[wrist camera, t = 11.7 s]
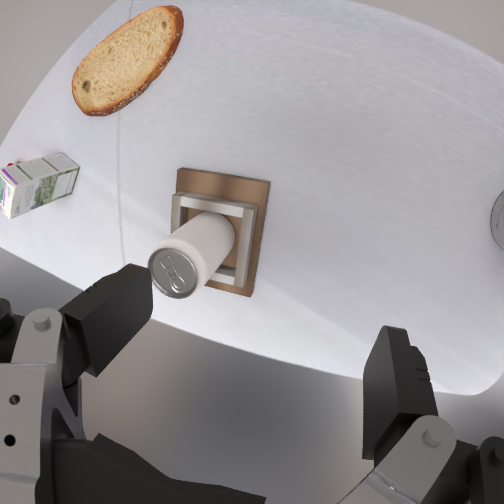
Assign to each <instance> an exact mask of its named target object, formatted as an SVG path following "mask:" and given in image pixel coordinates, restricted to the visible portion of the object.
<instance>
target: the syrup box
mask: <svg viewBox="0 0 504 504" xmlns="http://www.w3.org/2000/svg"><path fill="white" fill-rule="evenodd" d="M78 171H79V166H78V165H77V164H76V163H74V162H73V161H72V160H71V159H69V158H68V157H67V156H65V155H64V154H63V153H57V154H53V155H50V156H46V157H42V158H38V159H34V160H30V161H26V162H22V163H18V164H14V165H11V166H7V167H4V168H1V169H0V210H1V212H2V213H3V214H4V215H5V216H7V217H8V218H9V220H10V219H13V218H15V217H17V216H19V215H21V214H24V213H26V212H28V211H30V210H33V209H35V208H37V207H40V206H42V205H45V204H47V203H49V202H52V201H54V200H57V199H59V198H62V197H64V196H67V195H70V194H71V193H72V190H73V187H74V183H75V180H76V177H77V174H78Z"/></svg>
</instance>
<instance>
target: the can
mask: <svg viewBox="0 0 504 504" xmlns="http://www.w3.org/2000/svg"><path fill="white" fill-rule="evenodd" d="M234 243H235V232H234V229H233V226H232V224H231V223H230V222H229V220H228V219H227V218H225V217H224V216H223V215H221V214H219V213H216V212H203V213H201V214H199V215H197V216H195V217H194V218H193V219H191V220H190V221H188V222H187V223H185V224H184V225H183V226H181V227H180V228H178V229H177V230H176V231H174V232H173V233H172V234H170V235H169V236H168V237H166V238H165V239H164V240H162V241H161V242H160V243H159V244H158V245H157V246H156V247H155V249H154V251H153V253H152V255H151V256H150V258H149V261H148V268H149V269H150V271H151V275H152V283H153V284H154V286H155V287H156V288H157V289H158V290H159V291H160V292H161V293H163V294H164V295H166V296H168V297H171V298H175V299H182V298H186V297H188V296H190V295H191V294H193V293H196V292H197V291H199V290H200V289H201V288H202V287H203V286H204V285H205V284H206V282H207V281H208V280H209V279H210V277H211V276H212V275H213V273H214V272H215V271H216V270H217V268H218V267H219V266H220V264H221V263H222V262H223V260H224V259H225V258H226V257H227V255H228V254H229V253H230V251H231V250H232V248H233V246H234Z"/></svg>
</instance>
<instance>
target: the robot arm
mask: <svg viewBox="0 0 504 504" xmlns="http://www.w3.org/2000/svg"><path fill="white" fill-rule="evenodd" d="M491 230H492V234H493V237H494V239H495V241H496V242H497V244H498V245H499V246H500V247H501V248H503V249H504V192H503V193H502V194H501V195H500V197H499V198H498V199H497V201H496V203H495V205H494V208H493V211H492V216H491ZM152 311H153V295H152V275H151V271H150V269H149V268H145V267H142V266H138V265H135V264H131V263H130V264H127V265H126V266H125V267H123V268H122V269H121V270H119V271H118V272H116V273H113V274H110V275H108V276H105V277H102V278H101V279H100V280H98V281H97V282H95V283H94V284H93V286H90V287H89V288H87V289H86V290H85V292H84V291H83V292H82V293H81V294H79V295H78V296H77V297H75V298H74V299H73V300H71V301H70V302H69V303H67V304H66V305H65V306H63V307H62V308H61V309H59V310H58V311H57V310H55V309H51V308H42V309H37V310H35V311H33V312H31V313H29V314H28V315H27V316H26V317H24V316H20V315H15V314H13V312H12V308H11V305H10V303H9V301H7V300H6V299H3V298H0V504H264V503H265V500H266V497H263V496H258V495H254V494H250V493H246V492H242V491H239V490H234V489H231V488H228V487H224V486H221V485H212V484H203V483H195V482H188V481H181V480H175V479H171V478H169V477H167V476H166V475H164V474H163V473H162V472H160V471H159V470H157V469H156V468H154V467H153V466H152V465H151V464H149V463H148V462H147V461H145V460H144V459H143V458H142V457H140V456H139V455H138V454H137V453H135V452H134V451H132V450H130V449H128V448H126V447H124V446H122V445H120V444H118V443H116V442H114V441H113V440H111V439H109V438H107V437H105V436H103V435H102V434H100V433H99V434H98V435H97V436H96V437H95V439H94V440H93V441H90V440H87V438H86V435H85V432H84V428H83V419H82V380H81V377H80V376H81V374H82V373H83V372H84V371H85V372H87V373H89V374H91V375H93V376H94V377H97V376H98V375H99V374H100V373H101V372H102V371H103V370H104V369H105V368H106V366H107V365H108V364H109V363H110V362H111V361H112V360H113V359H114V357H115V356H116V355H117V354H118V353H119V352H120V351H121V350H122V349H123V348H124V346H125V345H126V344H127V343H128V342H129V341H130V340H131V339H132V338H133V337H134V336H135V335H136V334H137V332H138V331H139V330H140V329H141V328H142V327H143V326H144V325H145V324H146V323H147V322H148V320H149V319H150V317H151V314H152ZM427 371H428V368H427V365H426V361H425V358H424V356H423V355H422V354H421V352H420V351H419V350H418V348H417V347H415V346H410V342H409V338H408V334H407V331H406V330H405V329H402V328H396V327H391V326H386V325H384V326H383V327H382V328H381V330H380V333H379V335H378V337H377V339H376V342H375V344H374V346H373V348H372V351H371V353H370V355H369V357H368V359H367V362H366V365H365V368H364V373H363V403H364V404H363V411H364V413H363V451H362V459H367V460H374V469H373V470H372V471H371V472H370V473H369V474H368V475H367V476H366V477H365V478H364V479H363V480H362V481H361V482H360V483H359V484H358V485H357V486H356V487H354V489H352V491H350V492H349V493H348V494H347V495H346V496H345V497H344V498H343V499H342V500H340V501H339V502H338V503H337V504H469V503H471V504H504V439H502V438H500V437H495V436H493V437H489V438H487V439H486V440H485V441H484V442H482V443H481V444H480V445H479V446H475V445H472V444H468V443H465V442H462V441H459V440H457V439H456V434H455V432H454V430H453V428H452V427H451V425H450V424H449V423H448V422H447V421H445V420H444V419H442V418H440V417H438V411H437V407H436V402H435V398H434V393H433V389H432V384H431V382H430V376H429V372H427Z"/></svg>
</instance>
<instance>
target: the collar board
mask: <svg viewBox="0 0 504 504" xmlns="http://www.w3.org/2000/svg"><path fill="white" fill-rule="evenodd" d="M269 188H270V182H268V181H262V180H257V179H251V178H245V177H240V176H234V175H228V174H221V173H215V172H209V171H202V170H195V169H188V168H180V169H177V182H176V194H174V195H172V214H171V234H172V233H173V232H174V231H176V230H177V229H178V228H180V227H181V226H183V225H184V224H185V223H187V222H188V221H190V220H191V219H193V218H194V217H195V216H197V215H199V214H201V213H203V212H216V213H219V214H221V215H223V216H224V217H225V218H227V219H228V220H229V222H230V223H231V224H232V226H233V229H234V232H235V243H234V246H233V248H232V250H231V251H230V253H229V254H228V255H227V257H226V258H225V259H224V260H223V262H222V263H221V264H220V266H219V267H218V268H217V270H216V271H215V272H214V273H213V275H212V276H211V277H210V279H209V280H208V281H207V282H206V284H205V285H204V286H208V287H212V288H215V289H219V290H223V291H227V292H231V293H235V294H239V295H243V296H247V297H251V295H252V293H253V288H254V282H255V276H256V269H257V263H258V257H259V251H260V244H261V238H262V232H263V226H264V219H265V213H266V207H267V200H268V194H269Z"/></svg>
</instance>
